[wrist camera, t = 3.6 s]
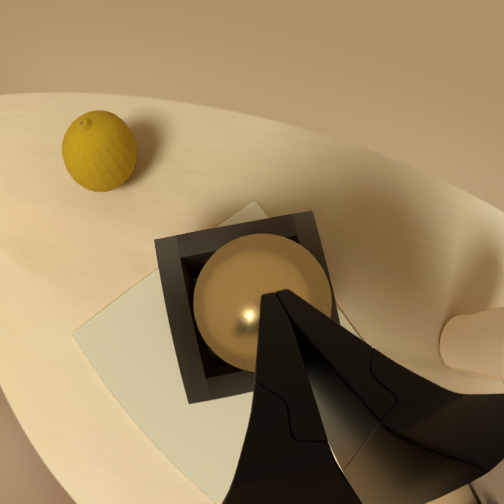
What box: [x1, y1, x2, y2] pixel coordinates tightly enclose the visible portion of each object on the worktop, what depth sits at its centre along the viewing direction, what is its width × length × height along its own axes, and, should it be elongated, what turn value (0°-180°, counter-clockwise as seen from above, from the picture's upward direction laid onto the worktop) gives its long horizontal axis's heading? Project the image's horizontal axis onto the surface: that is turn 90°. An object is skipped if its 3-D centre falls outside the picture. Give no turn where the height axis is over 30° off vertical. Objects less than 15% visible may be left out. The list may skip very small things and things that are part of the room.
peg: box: [194, 234, 332, 372], centre depth 14 cm, size 5×5×8 cm
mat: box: [72, 201, 361, 503], centre depth 21 cm, size 18×18×1 cm
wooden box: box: [154, 211, 340, 404], centre depth 18 cm, size 8×8×8 cm
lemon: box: [62, 110, 137, 192], centre depth 19 cm, size 6×6×8 cm
